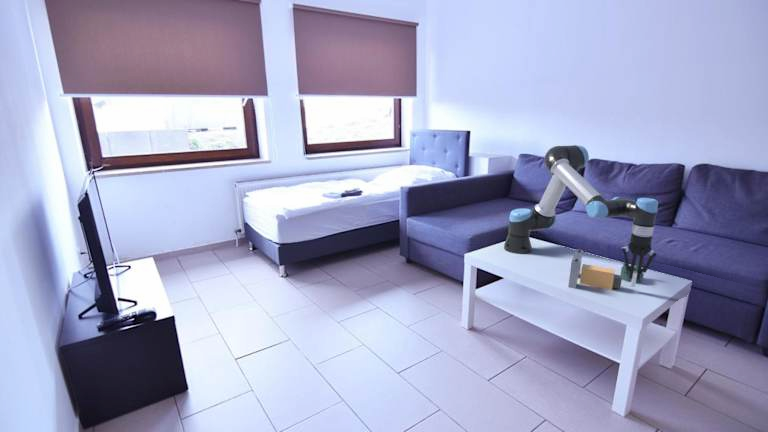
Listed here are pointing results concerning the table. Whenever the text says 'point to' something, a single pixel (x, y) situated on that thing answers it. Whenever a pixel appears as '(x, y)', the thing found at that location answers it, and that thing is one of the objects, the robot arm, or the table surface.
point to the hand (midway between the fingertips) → (632, 285)
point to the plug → (600, 277)
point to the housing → (575, 268)
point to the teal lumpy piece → (626, 273)
